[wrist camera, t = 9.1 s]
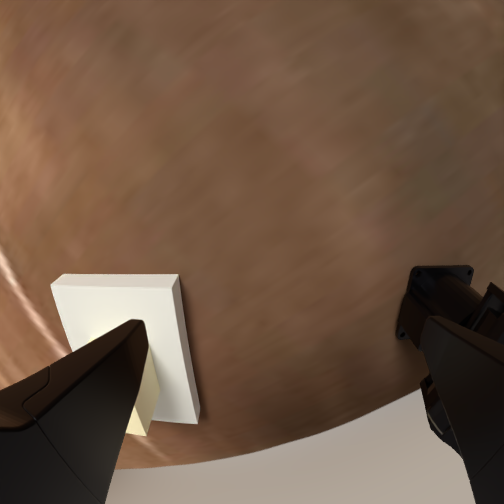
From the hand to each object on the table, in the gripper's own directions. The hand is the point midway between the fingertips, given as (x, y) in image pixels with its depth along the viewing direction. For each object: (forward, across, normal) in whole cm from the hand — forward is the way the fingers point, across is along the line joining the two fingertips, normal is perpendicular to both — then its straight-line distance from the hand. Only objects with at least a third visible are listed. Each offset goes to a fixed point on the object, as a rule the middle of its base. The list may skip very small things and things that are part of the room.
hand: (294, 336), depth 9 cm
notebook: (+12, +11, +11) cm, 20 cm away
